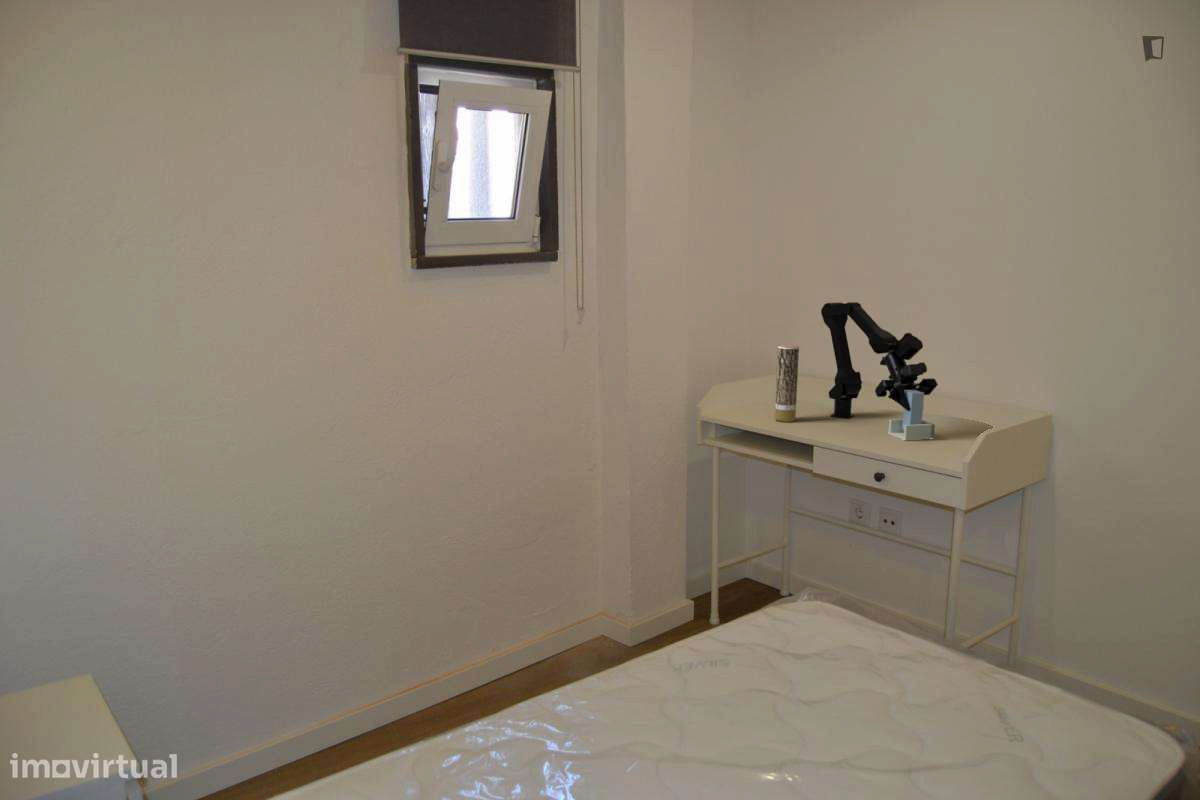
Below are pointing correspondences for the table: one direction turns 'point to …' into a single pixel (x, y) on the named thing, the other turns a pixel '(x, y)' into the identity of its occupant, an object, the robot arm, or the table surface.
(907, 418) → the peg
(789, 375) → the paper tube
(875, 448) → the table surface
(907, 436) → the slot bay
